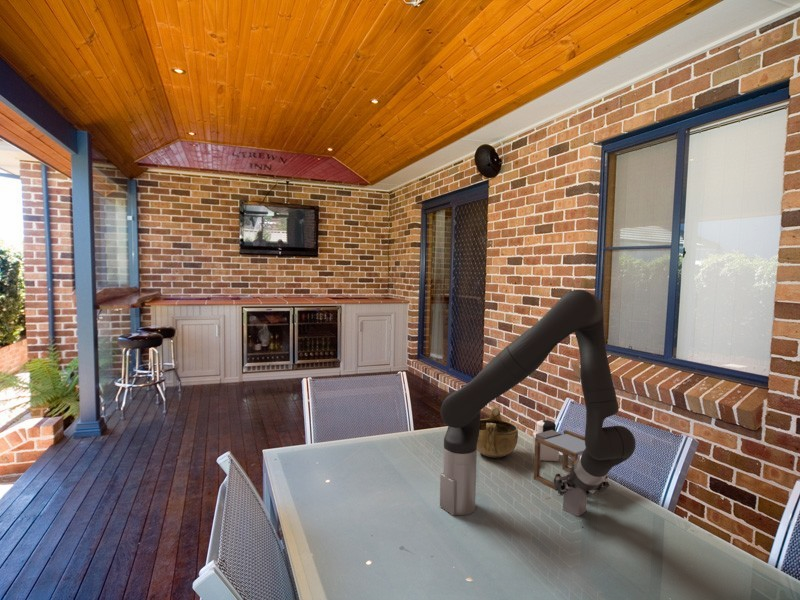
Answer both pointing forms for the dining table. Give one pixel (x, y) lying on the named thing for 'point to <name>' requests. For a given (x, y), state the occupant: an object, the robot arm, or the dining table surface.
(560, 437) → the trapdoor
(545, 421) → the container
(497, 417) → the ceramic bowl
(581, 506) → the stone
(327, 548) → the dining table surface
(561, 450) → the frame
